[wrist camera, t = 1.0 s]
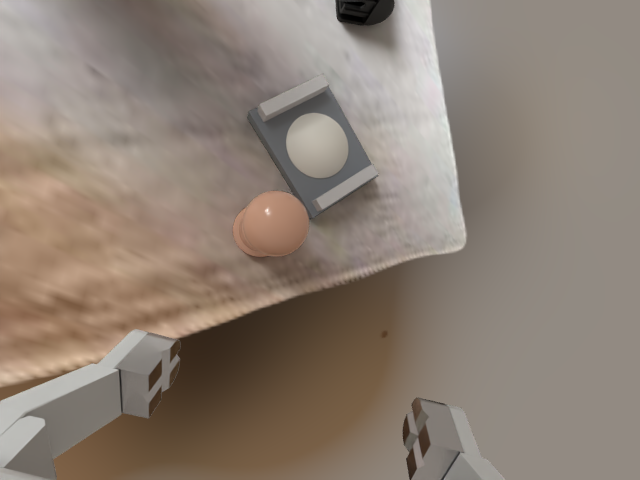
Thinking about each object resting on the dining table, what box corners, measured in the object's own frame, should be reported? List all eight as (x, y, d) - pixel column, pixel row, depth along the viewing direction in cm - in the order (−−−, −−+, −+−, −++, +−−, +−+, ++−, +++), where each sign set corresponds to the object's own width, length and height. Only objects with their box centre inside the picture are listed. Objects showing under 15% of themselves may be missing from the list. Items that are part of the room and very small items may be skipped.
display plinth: (247, 117, 41) (250, 104, 37) (318, 83, 45) (327, 67, 41) (309, 219, 44) (317, 216, 40) (371, 178, 47) (385, 172, 43)
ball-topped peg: (222, 240, 40) (226, 235, 25) (249, 195, 41) (268, 165, 26) (269, 265, 42) (298, 274, 27) (293, 221, 43) (333, 207, 28)
